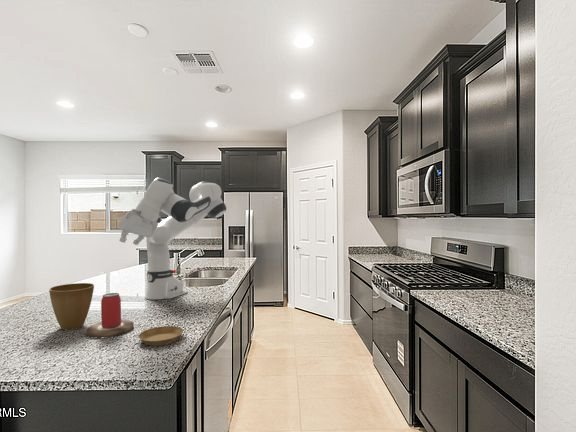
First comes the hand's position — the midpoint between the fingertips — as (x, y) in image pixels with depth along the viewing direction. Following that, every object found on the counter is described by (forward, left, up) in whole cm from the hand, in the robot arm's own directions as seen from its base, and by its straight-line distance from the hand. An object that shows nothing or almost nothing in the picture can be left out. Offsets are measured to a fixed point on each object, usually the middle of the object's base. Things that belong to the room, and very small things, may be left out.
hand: (128, 243), depth 136 cm
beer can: (+9, +3, -31) cm, 32 cm away
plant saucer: (+6, +27, -33) cm, 43 cm away
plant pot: (+14, -15, -33) cm, 39 cm away
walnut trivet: (+9, +2, -32) cm, 34 cm away
